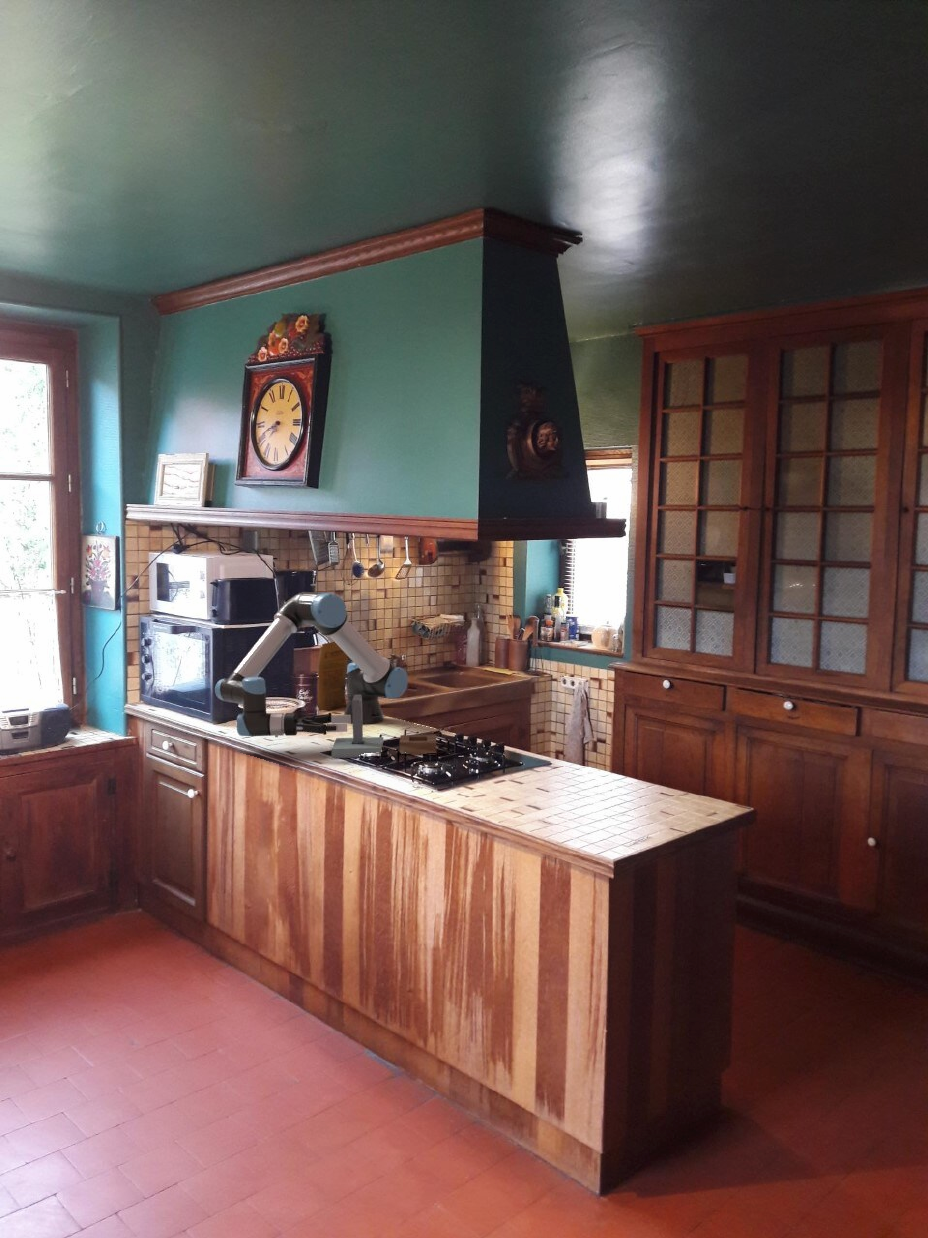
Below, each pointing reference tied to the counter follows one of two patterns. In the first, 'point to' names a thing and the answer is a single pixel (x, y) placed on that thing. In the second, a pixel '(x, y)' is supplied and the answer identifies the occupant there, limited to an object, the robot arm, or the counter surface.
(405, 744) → the block
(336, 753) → the cover plate
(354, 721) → the t key
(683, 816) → the counter surface
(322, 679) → the pancake mix bag
